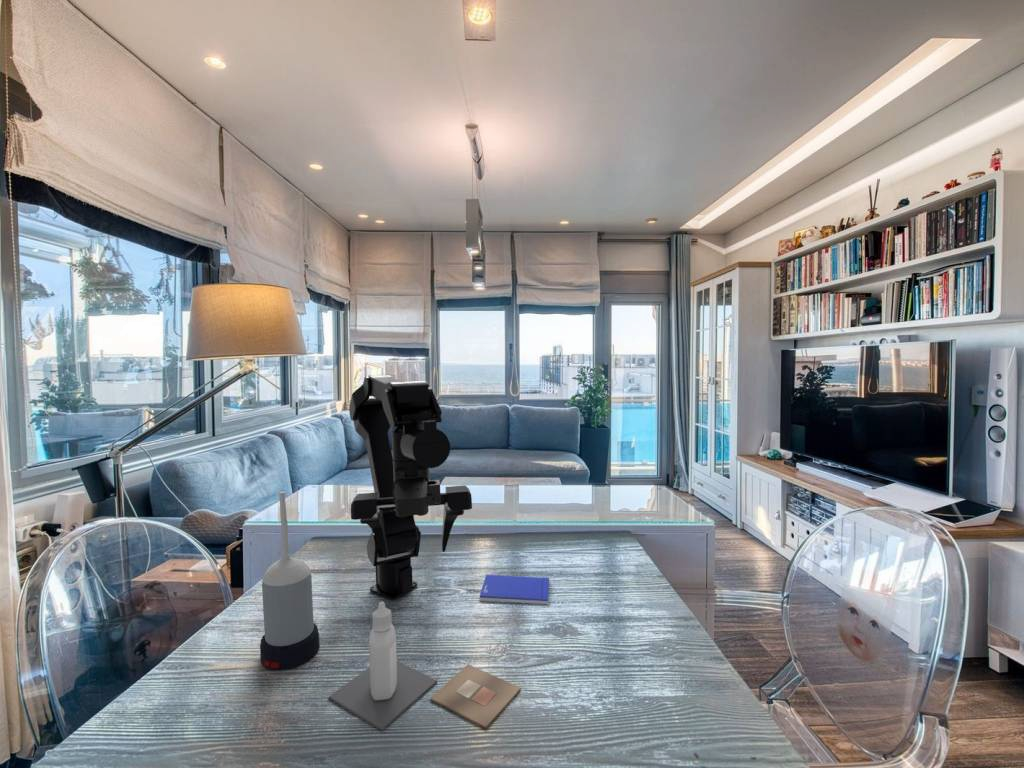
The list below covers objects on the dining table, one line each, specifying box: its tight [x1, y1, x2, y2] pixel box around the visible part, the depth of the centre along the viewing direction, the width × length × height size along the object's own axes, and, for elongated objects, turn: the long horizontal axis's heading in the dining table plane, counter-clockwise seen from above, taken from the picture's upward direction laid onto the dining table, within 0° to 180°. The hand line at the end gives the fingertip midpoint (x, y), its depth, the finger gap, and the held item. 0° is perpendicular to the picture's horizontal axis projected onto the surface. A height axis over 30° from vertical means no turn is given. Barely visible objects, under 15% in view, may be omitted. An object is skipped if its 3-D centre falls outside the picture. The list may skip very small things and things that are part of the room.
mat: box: [328, 660, 438, 731], centre depth 67 cm, size 10×10×1 cm
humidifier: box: [259, 490, 320, 672], centre depth 74 cm, size 8×8×25 cm
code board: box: [429, 663, 522, 730], centre depth 66 cm, size 9×8×1 cm
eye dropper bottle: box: [368, 601, 398, 701], centre depth 67 cm, size 4×6×12 cm
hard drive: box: [478, 574, 550, 605], centre depth 93 cm, size 2×8×12 cm
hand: (415, 554), depth 81 cm, fingers open, 9 cm apart
